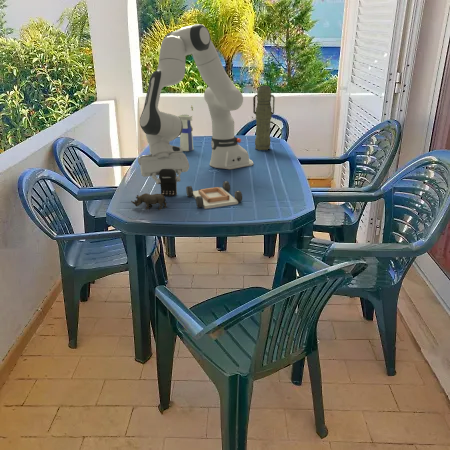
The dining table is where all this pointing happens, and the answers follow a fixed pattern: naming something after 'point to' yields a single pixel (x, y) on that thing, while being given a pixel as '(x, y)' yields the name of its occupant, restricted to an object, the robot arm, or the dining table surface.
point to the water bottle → (186, 133)
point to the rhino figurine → (150, 200)
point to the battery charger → (168, 182)
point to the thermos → (263, 117)
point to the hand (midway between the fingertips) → (168, 182)
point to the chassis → (214, 196)
